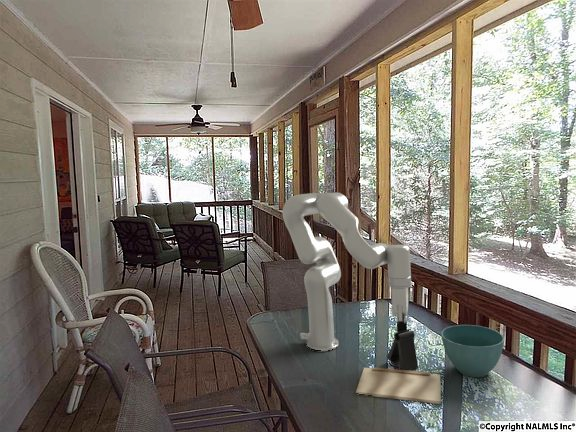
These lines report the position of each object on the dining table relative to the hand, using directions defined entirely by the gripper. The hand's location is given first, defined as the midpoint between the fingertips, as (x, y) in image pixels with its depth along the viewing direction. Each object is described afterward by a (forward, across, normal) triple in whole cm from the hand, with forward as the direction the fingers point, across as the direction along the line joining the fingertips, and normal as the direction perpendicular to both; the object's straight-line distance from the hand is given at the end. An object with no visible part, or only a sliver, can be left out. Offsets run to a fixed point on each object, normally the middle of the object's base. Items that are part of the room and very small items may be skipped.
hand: (402, 333), depth 140 cm
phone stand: (+10, +2, 0) cm, 10 cm away
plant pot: (+11, +2, +22) cm, 24 cm away
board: (+10, +16, 0) cm, 19 cm away
